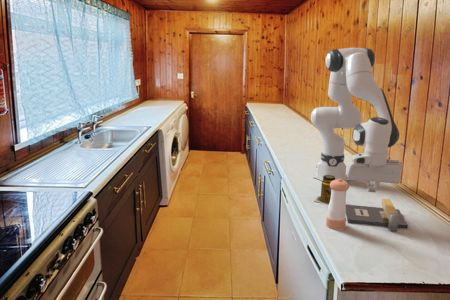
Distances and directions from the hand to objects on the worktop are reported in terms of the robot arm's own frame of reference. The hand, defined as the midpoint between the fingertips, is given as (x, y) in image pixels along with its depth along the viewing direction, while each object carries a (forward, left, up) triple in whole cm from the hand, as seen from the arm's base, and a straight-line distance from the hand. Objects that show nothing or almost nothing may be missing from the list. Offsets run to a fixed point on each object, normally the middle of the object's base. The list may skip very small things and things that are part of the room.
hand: (371, 191), depth 152 cm
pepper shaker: (+13, -14, -11) cm, 22 cm away
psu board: (+1, +2, -11) cm, 11 cm away
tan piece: (+4, +7, -10) cm, 13 cm away
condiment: (-13, -17, -11) cm, 24 cm away
